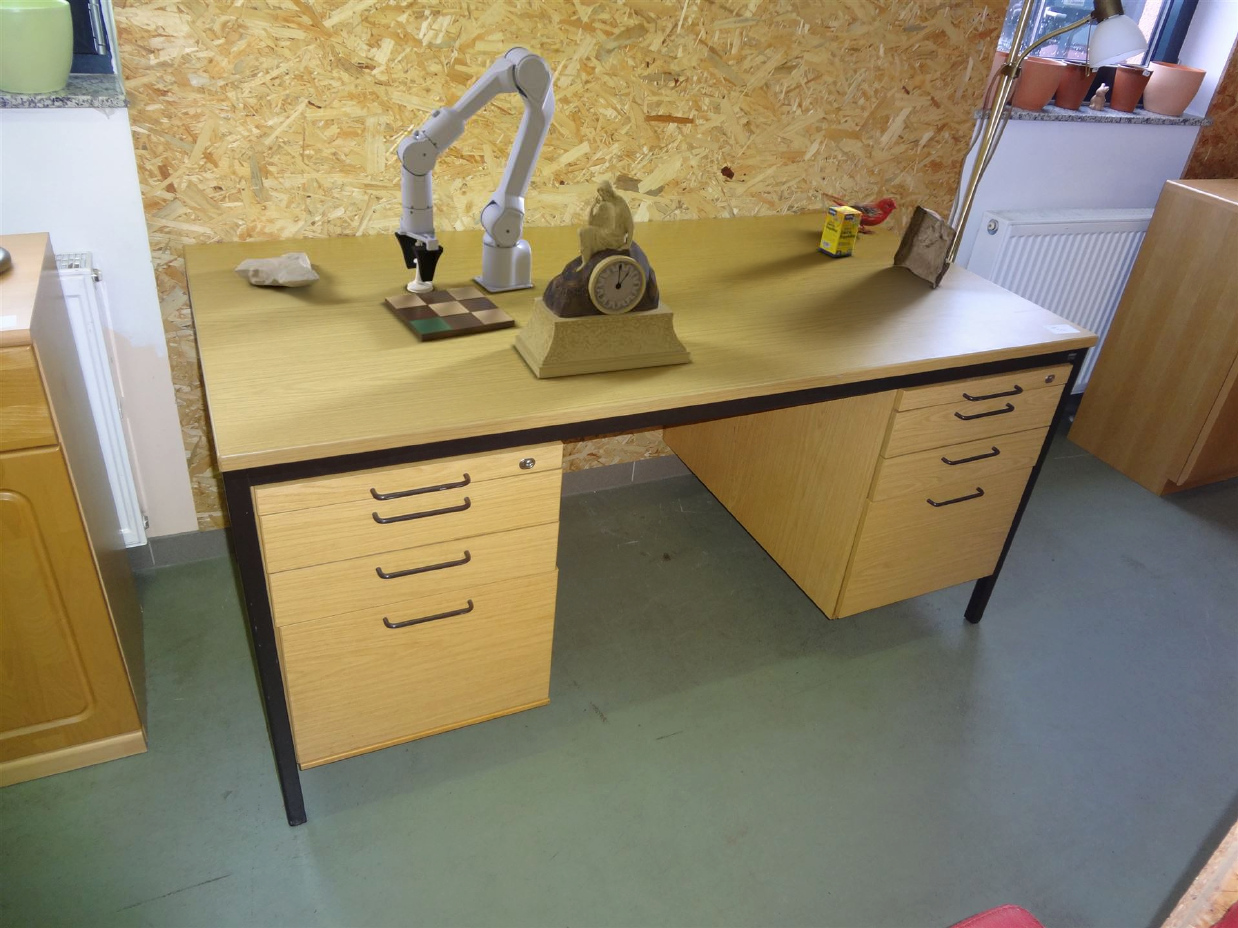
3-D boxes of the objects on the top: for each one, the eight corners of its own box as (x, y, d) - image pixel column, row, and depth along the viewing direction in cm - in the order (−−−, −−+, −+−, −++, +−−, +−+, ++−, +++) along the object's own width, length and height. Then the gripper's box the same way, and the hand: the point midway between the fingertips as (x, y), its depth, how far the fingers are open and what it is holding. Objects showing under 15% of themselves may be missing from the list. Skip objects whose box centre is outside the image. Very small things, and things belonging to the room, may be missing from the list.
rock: (237, 306, 156) (322, 295, 160) (230, 281, 153) (317, 271, 158) (241, 272, 173) (318, 263, 177) (235, 250, 171) (313, 241, 175)
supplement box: (834, 258, 212) (844, 213, 206) (818, 250, 216) (828, 206, 211) (852, 256, 215) (862, 212, 209) (835, 248, 219) (846, 205, 213)
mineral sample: (891, 264, 212) (908, 203, 204) (904, 264, 213) (922, 203, 205) (934, 290, 199) (954, 225, 191) (948, 289, 200) (968, 225, 192)
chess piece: (437, 287, 172) (436, 238, 167) (424, 295, 168) (423, 245, 162) (415, 282, 173) (413, 233, 168) (402, 290, 169) (400, 240, 164)
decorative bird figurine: (888, 239, 231) (898, 201, 226) (825, 223, 238) (834, 187, 232) (891, 236, 233) (901, 199, 228) (829, 221, 240) (837, 185, 235)
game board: (472, 292, 172) (472, 285, 171) (514, 326, 159) (514, 319, 159) (385, 303, 162) (384, 297, 162) (421, 341, 150) (421, 334, 150)
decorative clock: (538, 378, 142) (547, 195, 126) (515, 346, 152) (520, 172, 136) (688, 362, 153) (714, 192, 137) (657, 333, 163) (678, 171, 147)
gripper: (383, 195, 165) (386, 264, 172) (411, 218, 155) (414, 290, 162) (418, 193, 168) (420, 260, 175) (448, 215, 158) (449, 285, 165)
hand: (419, 274), depth 169 cm, fingers open, 7 cm apart
